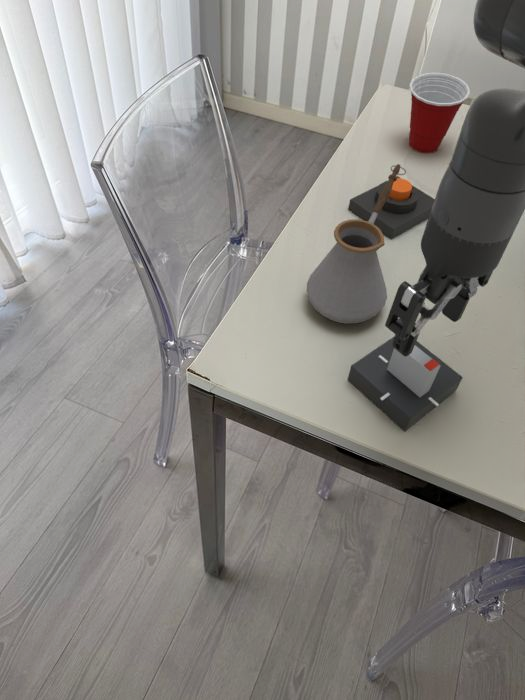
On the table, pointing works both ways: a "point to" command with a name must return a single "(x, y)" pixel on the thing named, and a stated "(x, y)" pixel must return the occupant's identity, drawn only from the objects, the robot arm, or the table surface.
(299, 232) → the table surface
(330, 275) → the coffee pot
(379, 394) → the timer panel
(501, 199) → the robot arm
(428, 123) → the plastic cup
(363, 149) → the table surface
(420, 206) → the block
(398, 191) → the power button
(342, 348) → the table surface
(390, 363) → the timer knob
